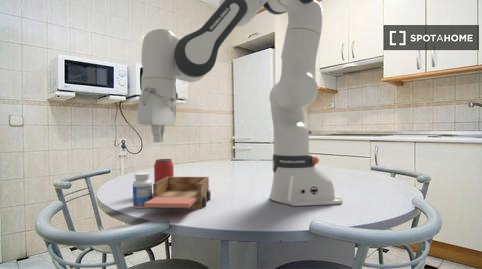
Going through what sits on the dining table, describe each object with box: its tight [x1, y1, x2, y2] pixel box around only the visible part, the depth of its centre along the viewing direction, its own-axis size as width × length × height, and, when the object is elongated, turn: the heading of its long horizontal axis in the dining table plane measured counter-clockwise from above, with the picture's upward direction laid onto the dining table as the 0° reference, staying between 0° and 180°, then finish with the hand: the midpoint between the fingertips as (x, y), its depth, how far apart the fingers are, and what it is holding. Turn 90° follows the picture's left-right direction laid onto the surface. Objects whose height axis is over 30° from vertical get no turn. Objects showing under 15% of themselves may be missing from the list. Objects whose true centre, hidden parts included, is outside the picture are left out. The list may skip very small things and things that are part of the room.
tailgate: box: [144, 196, 198, 208], centre depth 74 cm, size 12×1×9 cm
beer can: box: [153, 158, 175, 184], centre depth 98 cm, size 7×7×12 cm
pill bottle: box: [132, 171, 153, 209], centre depth 82 cm, size 6×5×10 cm
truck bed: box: [152, 176, 212, 209], centre depth 85 cm, size 16×12×7 cm
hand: (158, 142), depth 75 cm, fingers closed
